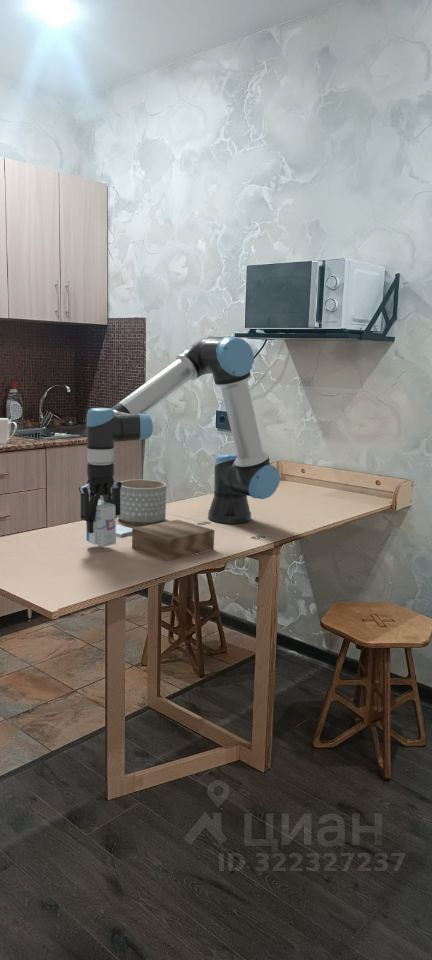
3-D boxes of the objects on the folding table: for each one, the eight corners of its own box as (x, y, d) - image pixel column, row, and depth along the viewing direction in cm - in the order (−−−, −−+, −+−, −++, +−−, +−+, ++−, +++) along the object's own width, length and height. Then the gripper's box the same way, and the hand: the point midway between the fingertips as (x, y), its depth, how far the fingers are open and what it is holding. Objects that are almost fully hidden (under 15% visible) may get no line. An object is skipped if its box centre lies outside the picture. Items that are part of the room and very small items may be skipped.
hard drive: (139, 529, 223) (112, 522, 231) (121, 534, 217) (93, 526, 224) (139, 534, 224) (112, 527, 231) (121, 539, 217) (93, 531, 225)
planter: (112, 515, 245) (113, 480, 243) (157, 513, 251) (158, 478, 248) (123, 527, 230) (124, 489, 228) (171, 524, 236) (172, 487, 233)
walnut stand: (177, 538, 219) (177, 519, 218) (213, 549, 208) (214, 530, 207) (132, 547, 206) (132, 528, 205) (168, 560, 195) (168, 539, 194)
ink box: (85, 540, 205) (85, 501, 203) (99, 538, 209) (99, 499, 206) (102, 547, 199) (102, 506, 197) (116, 544, 203) (116, 504, 200)
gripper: (117, 458, 208) (117, 533, 213) (66, 464, 196) (67, 544, 200) (133, 461, 203) (133, 538, 208) (81, 467, 191) (82, 550, 195)
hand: (100, 541), depth 204 cm, fingers closed on ink box, 5 cm apart
